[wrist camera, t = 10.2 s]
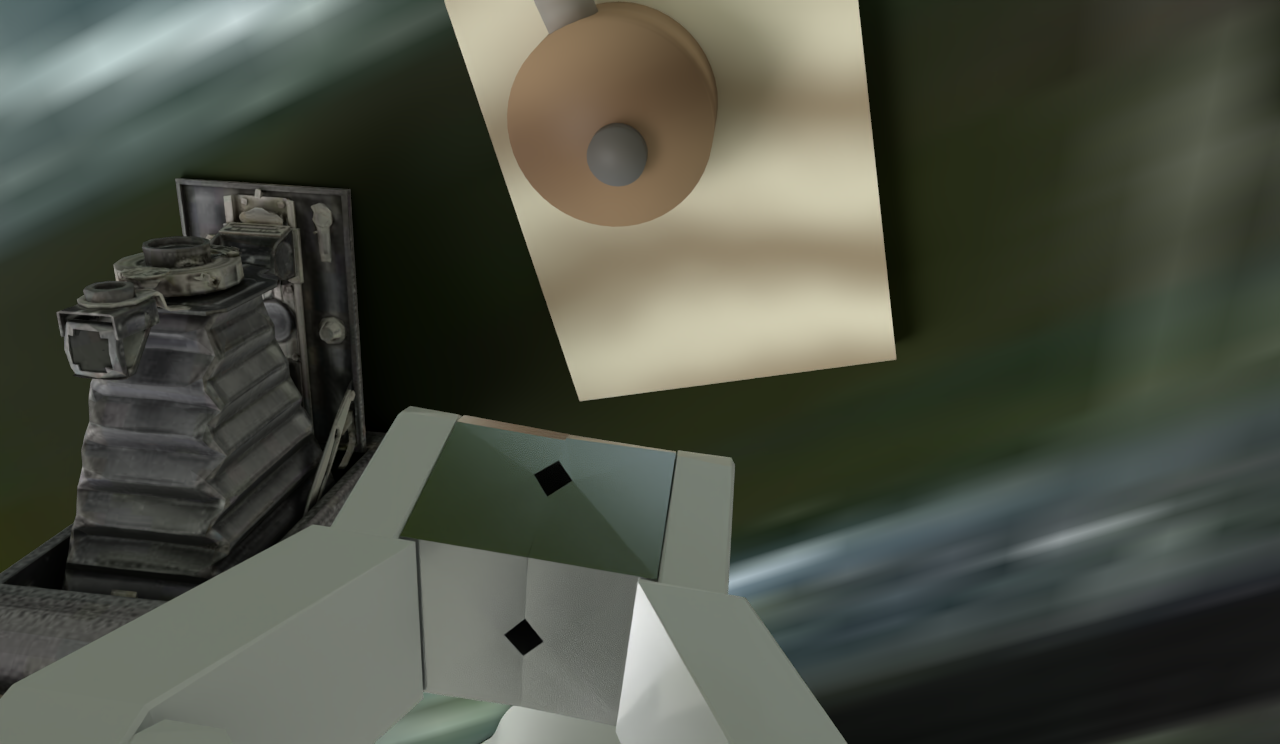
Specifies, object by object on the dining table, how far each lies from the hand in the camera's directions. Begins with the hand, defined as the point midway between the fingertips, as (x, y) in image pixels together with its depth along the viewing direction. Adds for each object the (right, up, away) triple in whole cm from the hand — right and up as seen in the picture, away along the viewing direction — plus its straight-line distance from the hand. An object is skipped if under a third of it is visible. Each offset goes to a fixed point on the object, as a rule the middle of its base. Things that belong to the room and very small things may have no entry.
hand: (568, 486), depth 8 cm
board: (+2, +11, +25) cm, 28 cm away
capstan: (-1, +13, +22) cm, 26 cm away
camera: (-16, +3, +34) cm, 37 cm away
